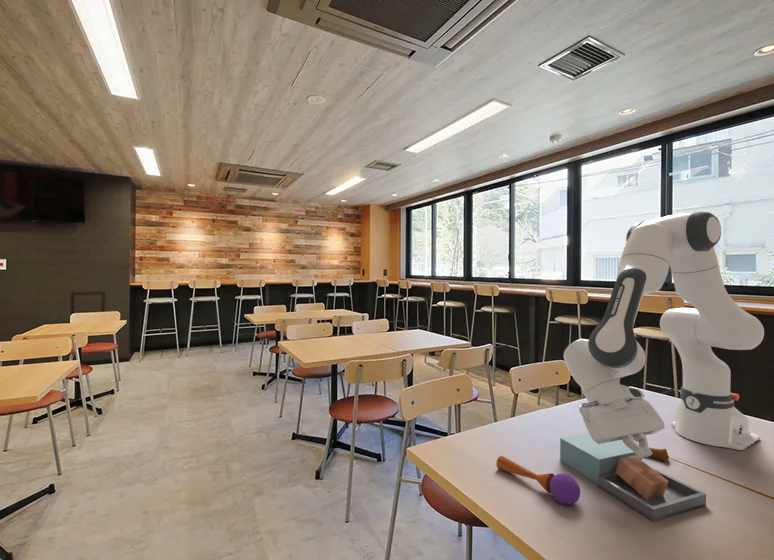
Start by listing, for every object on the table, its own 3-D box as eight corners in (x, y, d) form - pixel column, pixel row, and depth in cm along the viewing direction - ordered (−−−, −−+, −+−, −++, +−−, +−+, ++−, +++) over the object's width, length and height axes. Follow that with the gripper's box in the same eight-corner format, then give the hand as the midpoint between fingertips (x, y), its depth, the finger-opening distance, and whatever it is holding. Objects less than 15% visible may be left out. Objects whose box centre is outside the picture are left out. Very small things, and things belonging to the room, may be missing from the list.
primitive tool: (586, 443, 110) (587, 431, 110) (591, 437, 115) (591, 426, 115) (667, 466, 98) (668, 452, 98) (669, 458, 102) (670, 445, 102)
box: (646, 474, 93) (646, 464, 93) (705, 505, 80) (706, 494, 80) (597, 486, 87) (597, 476, 87) (653, 521, 75) (653, 509, 75)
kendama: (508, 449, 98) (585, 477, 82) (507, 473, 97) (585, 507, 81) (493, 451, 94) (571, 481, 78) (492, 476, 94) (570, 511, 77)
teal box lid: (599, 452, 104) (600, 430, 104) (641, 474, 93) (642, 450, 93) (560, 460, 100) (560, 438, 99) (598, 484, 88) (599, 459, 88)
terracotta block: (635, 455, 89) (668, 481, 82) (630, 469, 90) (663, 495, 83) (619, 458, 88) (652, 485, 80) (615, 472, 89) (647, 500, 82)
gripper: (583, 397, 88) (621, 458, 79) (646, 389, 95) (687, 444, 86) (568, 410, 92) (602, 469, 83) (629, 401, 99) (666, 454, 90)
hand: (645, 456), depth 85 cm, fingers closed
